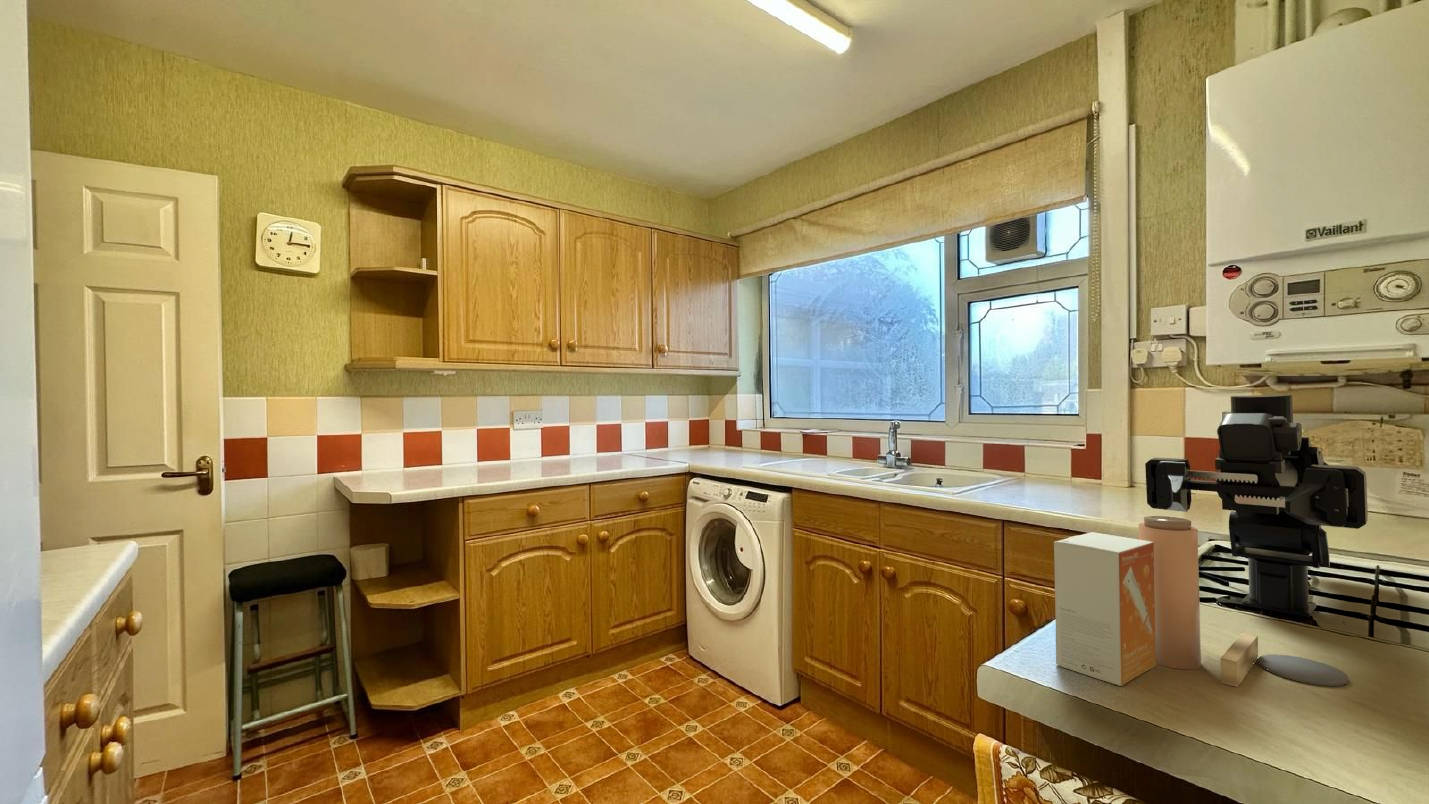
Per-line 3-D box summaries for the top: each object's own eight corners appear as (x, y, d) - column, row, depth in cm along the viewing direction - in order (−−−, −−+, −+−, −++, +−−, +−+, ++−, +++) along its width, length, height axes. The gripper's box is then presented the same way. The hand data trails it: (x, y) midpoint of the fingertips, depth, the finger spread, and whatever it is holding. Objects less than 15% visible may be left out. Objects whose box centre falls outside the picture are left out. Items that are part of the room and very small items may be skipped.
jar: (1149, 645, 67) (1146, 513, 67) (1206, 660, 63) (1202, 519, 63) (1135, 658, 63) (1131, 519, 64) (1194, 673, 60) (1190, 525, 60)
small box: (1122, 688, 57) (1119, 552, 57) (1054, 665, 62) (1051, 540, 62) (1158, 667, 61) (1155, 540, 61) (1091, 647, 67) (1089, 530, 67)
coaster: (1264, 653, 64) (1264, 649, 64) (1351, 672, 59) (1351, 668, 59) (1252, 670, 60) (1252, 666, 60) (1344, 692, 55) (1344, 688, 55)
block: (1243, 654, 64) (1242, 632, 64) (1258, 658, 63) (1257, 635, 63) (1221, 682, 58) (1220, 657, 58) (1237, 687, 57) (1236, 661, 57)
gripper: (1163, 414, 80) (1122, 425, 70) (1369, 413, 65) (1353, 427, 56) (1167, 496, 80) (1126, 518, 70) (1373, 514, 66) (1358, 545, 56)
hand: (1227, 501), depth 63 cm, fingers open, 9 cm apart
